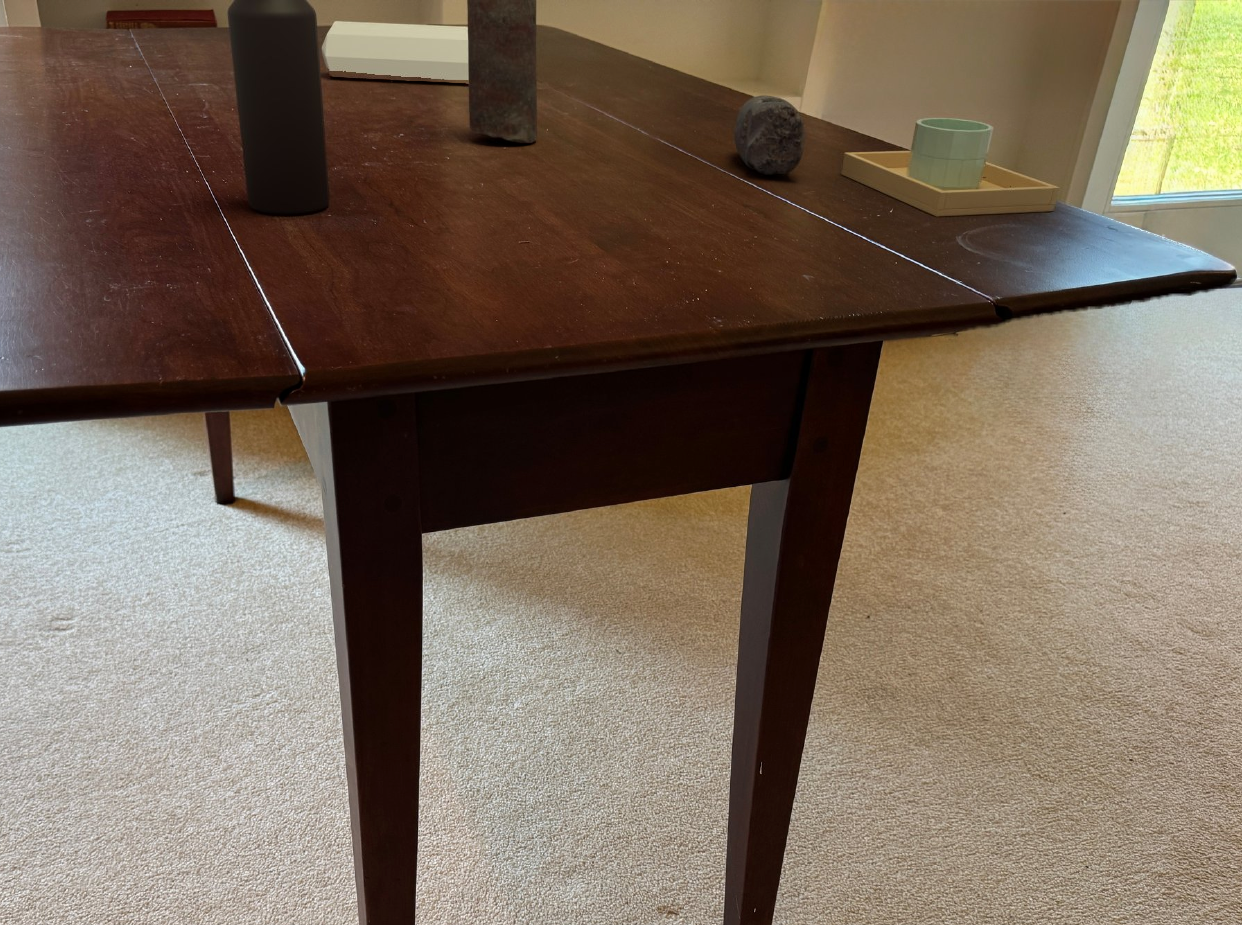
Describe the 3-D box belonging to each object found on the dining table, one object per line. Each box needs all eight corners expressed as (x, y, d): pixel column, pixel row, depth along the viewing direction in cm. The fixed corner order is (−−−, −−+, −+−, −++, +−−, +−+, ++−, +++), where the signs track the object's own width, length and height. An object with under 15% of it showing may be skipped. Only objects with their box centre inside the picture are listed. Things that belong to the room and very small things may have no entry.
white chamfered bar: (494, 48, 160) (332, 41, 163) (487, 25, 153) (318, 18, 155) (490, 100, 161) (328, 92, 163) (482, 79, 153) (314, 71, 156)
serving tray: (946, 170, 115) (950, 149, 114) (1053, 211, 101) (1059, 187, 100) (840, 174, 112) (844, 152, 111) (936, 216, 98) (941, 192, 97)
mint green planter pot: (952, 176, 110) (965, 117, 107) (994, 192, 104) (1008, 130, 101) (891, 178, 108) (902, 118, 105) (930, 194, 102) (943, 132, 100)
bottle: (231, 209, 93) (199, -65, 83) (280, 193, 98) (255, -66, 88) (299, 220, 91) (275, -60, 80) (345, 203, 96) (328, -62, 86)
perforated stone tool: (721, 151, 120) (728, 82, 116) (768, 152, 120) (777, 83, 117) (749, 183, 107) (758, 106, 104) (802, 184, 107) (813, 107, 104)
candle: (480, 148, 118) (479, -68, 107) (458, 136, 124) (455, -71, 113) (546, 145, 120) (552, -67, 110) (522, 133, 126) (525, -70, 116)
